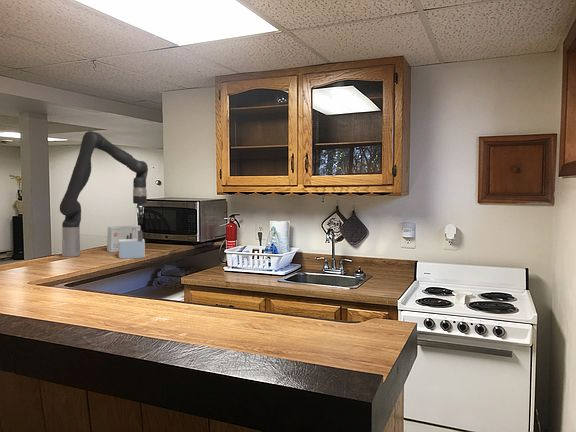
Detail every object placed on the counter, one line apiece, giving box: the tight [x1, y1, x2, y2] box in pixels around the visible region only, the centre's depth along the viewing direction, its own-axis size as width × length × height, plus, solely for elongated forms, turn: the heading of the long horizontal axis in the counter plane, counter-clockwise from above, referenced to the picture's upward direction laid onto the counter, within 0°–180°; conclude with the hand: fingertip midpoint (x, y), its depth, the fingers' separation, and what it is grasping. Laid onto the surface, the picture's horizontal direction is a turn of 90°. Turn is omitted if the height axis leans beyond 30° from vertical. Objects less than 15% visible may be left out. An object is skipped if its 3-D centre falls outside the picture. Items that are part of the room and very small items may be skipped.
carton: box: [118, 238, 146, 259], centre depth 263 cm, size 14×10×10 cm
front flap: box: [119, 230, 145, 259], centre depth 257 cm, size 14×1×16 cm, turn 113°
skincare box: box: [106, 224, 141, 253], centre depth 286 cm, size 21×5×16 cm, turn 143°
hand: (140, 223), depth 258 cm, fingers open, 8 cm apart
